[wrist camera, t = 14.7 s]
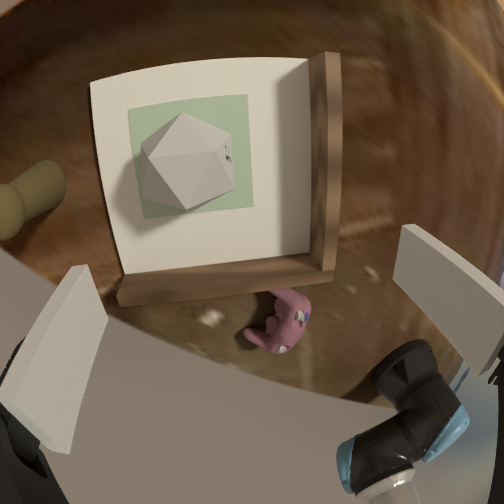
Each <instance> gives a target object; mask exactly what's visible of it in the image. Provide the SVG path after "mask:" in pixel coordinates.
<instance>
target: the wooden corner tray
mask: <svg viewBox="0 0 504 504" xmlns="http://www.w3.org/2000/svg"><path fill="white" fill-rule="evenodd" d="M90 90H91V103H92V114H93V124H94V133H95V140H96V148H97V154H98V161H99V167H100V173H101V178H102V184H103V189H104V194H105V199H106V203H107V208H108V213H109V217H110V221H111V225H112V229H113V233H114V237H115V241H116V245H117V249H118V252H119V256H120V259H121V263H122V266H123V270H124V273H125V275H124V277H123V280H122V282H121V285H120V287H119V290H118V292H117V295H116V297H117V300H118V303H119V305H120V307H125V306H137V305H148V304H158V303H169V302H178V301H188V300H197V299H206V298H214V297H223V296H231V295H239V294H247V293H254V292H262V291H269V290H276V289H283V288H290V287H297V286H303V285H310V284H316V283H323V282H329V281H334V272H335V263H336V253H337V242H338V230H339V216H340V200H341V179H342V83H341V64H340V53H333V52H323V53H320V54H318V55H316V56H314V57H312V58H310V59H298V58H269V57H256V58H227V59H213V60H202V61H193V62H184V63H177V64H170V65H164V66H158V67H152V68H147V69H142V70H137V71H133V72H128V73H124V74H120V75H116V76H112V77H108V78H104V79H101V80H97V81H94V82H91V83H90ZM181 112H183V113H186V114H188V115H190V116H193V117H195V118H197V119H200V120H202V121H204V122H206V123H208V124H211V125H213V126H215V127H217V128H219V129H221V130H224V131H226V132H228V133H230V134H231V141H232V155H233V170H234V184H235V189H234V190H232V191H230V192H228V193H226V194H224V195H222V196H220V197H218V198H216V199H214V200H212V201H210V202H209V203H207V204H205V205H203V206H201V207H199V208H197V209H195V210H193V211H192V212H191V211H188V210H184V209H181V208H177V207H174V206H170V205H167V204H163V203H159V202H156V201H152V200H149V199H145V198H143V194H142V170H141V143H142V142H143V141H144V140H146V139H147V138H148V137H149V136H151V135H152V134H153V133H154V132H156V131H157V130H158V129H160V128H161V127H162V126H163V125H165V124H166V123H167V122H169V121H170V120H172V119H173V118H174V117H176V116H177V115H178V114H180V113H181Z"/></svg>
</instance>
